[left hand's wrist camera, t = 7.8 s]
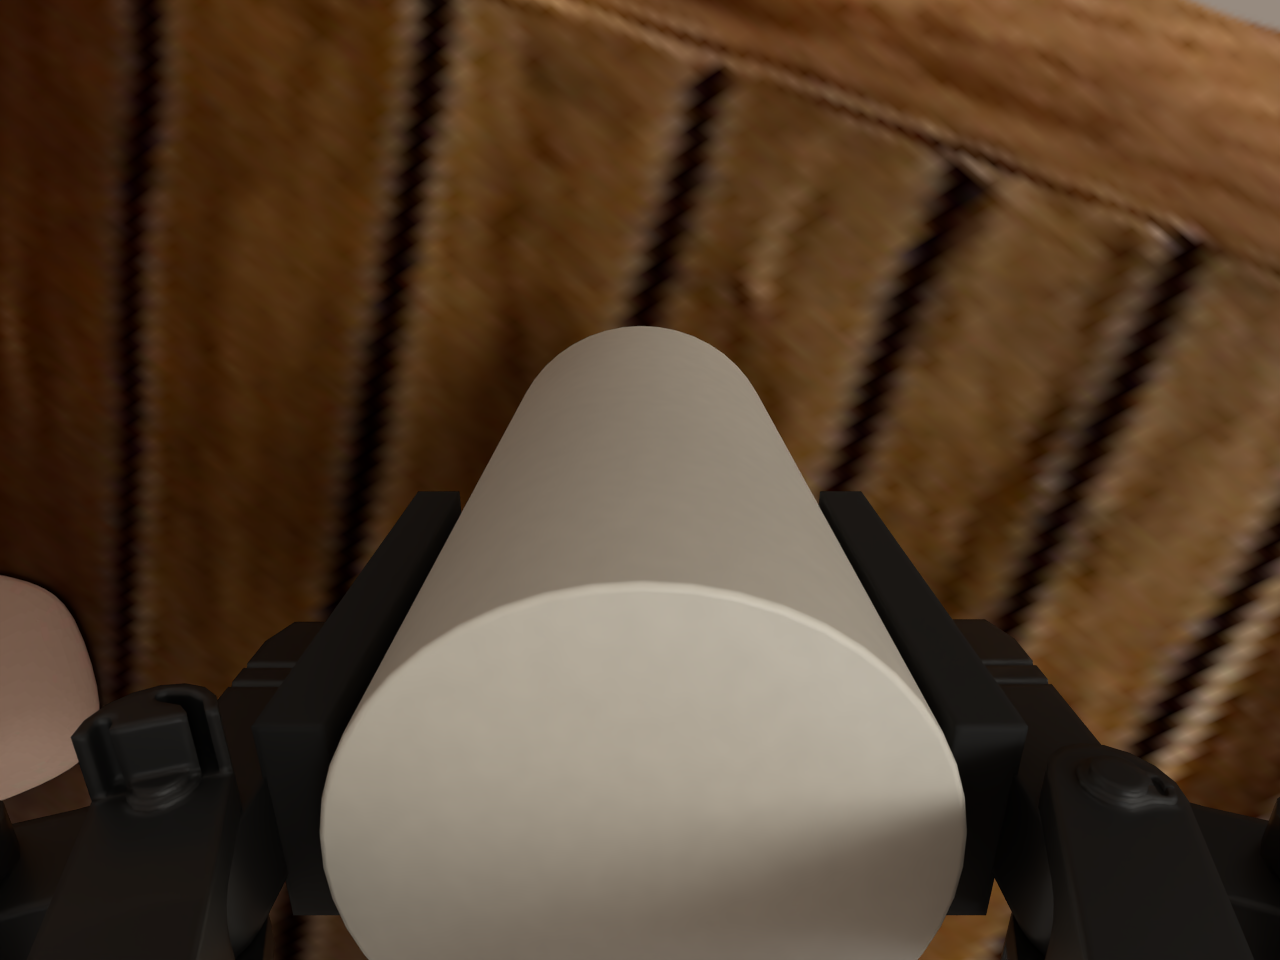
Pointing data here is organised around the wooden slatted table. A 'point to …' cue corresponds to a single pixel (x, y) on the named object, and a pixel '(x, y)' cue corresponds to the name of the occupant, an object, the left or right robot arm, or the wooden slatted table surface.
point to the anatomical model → (39, 686)
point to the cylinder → (642, 703)
